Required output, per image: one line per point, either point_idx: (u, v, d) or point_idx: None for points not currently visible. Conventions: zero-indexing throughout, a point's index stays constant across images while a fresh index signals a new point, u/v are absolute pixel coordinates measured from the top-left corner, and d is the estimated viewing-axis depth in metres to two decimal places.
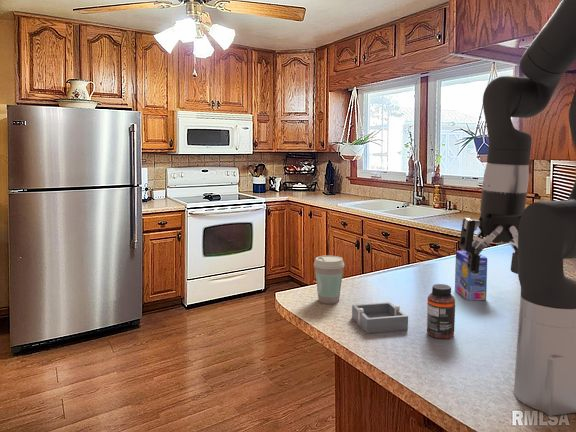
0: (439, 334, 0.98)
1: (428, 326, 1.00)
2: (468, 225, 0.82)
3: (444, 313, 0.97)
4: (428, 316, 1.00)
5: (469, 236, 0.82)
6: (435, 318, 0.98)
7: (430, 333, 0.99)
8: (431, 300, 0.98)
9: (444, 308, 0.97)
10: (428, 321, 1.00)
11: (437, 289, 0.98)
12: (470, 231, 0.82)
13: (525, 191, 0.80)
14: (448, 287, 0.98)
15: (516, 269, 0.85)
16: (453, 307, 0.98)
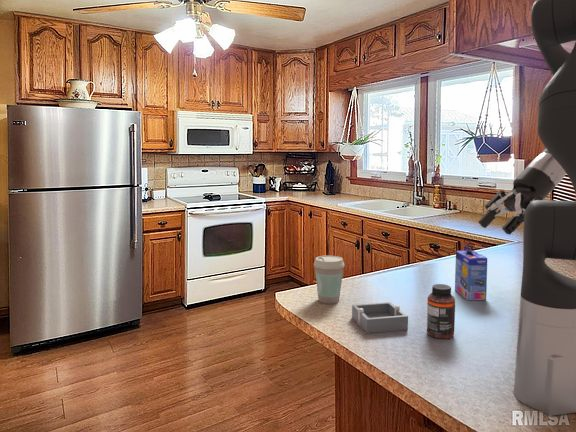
0: (439, 334, 0.98)
1: (428, 326, 1.00)
2: None
3: (444, 313, 0.97)
4: (428, 316, 1.00)
5: (493, 198, 1.08)
6: (435, 318, 0.98)
7: (430, 333, 0.99)
8: (431, 300, 0.98)
9: (444, 308, 0.97)
10: (428, 321, 1.00)
11: (437, 289, 0.98)
12: (495, 196, 1.08)
13: (539, 168, 1.00)
14: (448, 287, 0.98)
15: None
16: (453, 307, 0.98)
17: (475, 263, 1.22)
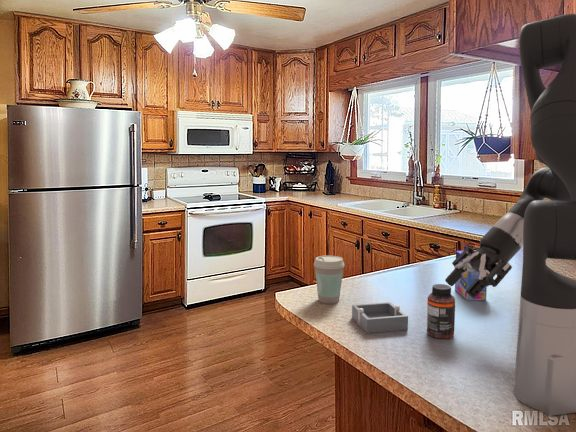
0: (439, 334, 0.98)
1: (428, 326, 1.00)
2: None
3: (444, 313, 0.97)
4: (428, 316, 1.00)
5: (460, 255, 1.07)
6: (435, 318, 0.98)
7: (430, 333, 0.99)
8: (431, 300, 0.98)
9: (444, 308, 0.97)
10: (428, 321, 1.00)
11: (437, 289, 0.98)
12: (463, 252, 1.07)
13: (504, 230, 0.98)
14: (448, 287, 0.98)
15: None
16: (453, 307, 0.98)
17: None
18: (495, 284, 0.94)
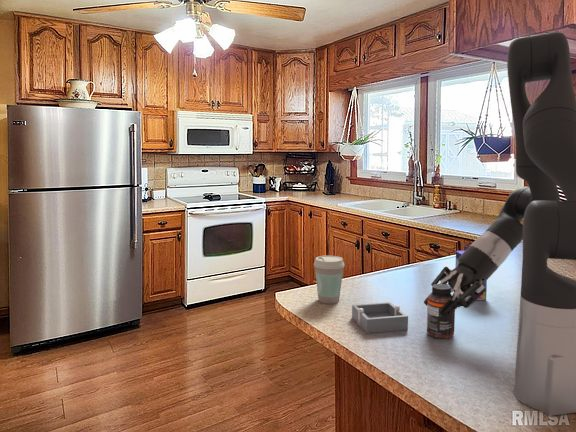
0: (439, 334, 0.98)
1: (428, 326, 1.00)
2: None
3: None
4: (428, 316, 1.00)
5: (438, 276, 1.06)
6: (435, 318, 0.98)
7: (430, 333, 0.99)
8: (431, 300, 0.98)
9: None
10: (428, 321, 1.00)
11: (437, 289, 0.98)
12: (440, 273, 1.06)
13: (481, 249, 0.98)
14: (448, 287, 0.98)
15: None
16: None
17: None
18: (466, 306, 0.94)
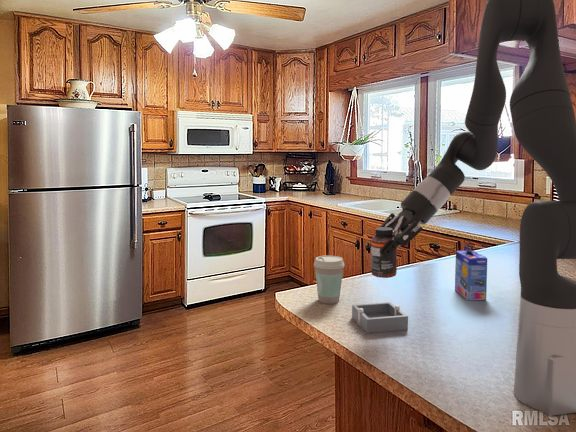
0: (381, 273, 1.03)
1: (372, 267, 1.05)
2: None
3: None
4: (372, 257, 1.05)
5: (384, 222, 1.11)
6: (377, 258, 1.03)
7: (373, 273, 1.05)
8: (374, 241, 1.04)
9: None
10: (372, 262, 1.05)
11: (379, 230, 1.03)
12: (386, 219, 1.11)
13: (421, 192, 1.03)
14: (390, 229, 1.04)
15: None
16: None
17: (475, 263, 1.22)
18: (404, 244, 0.99)
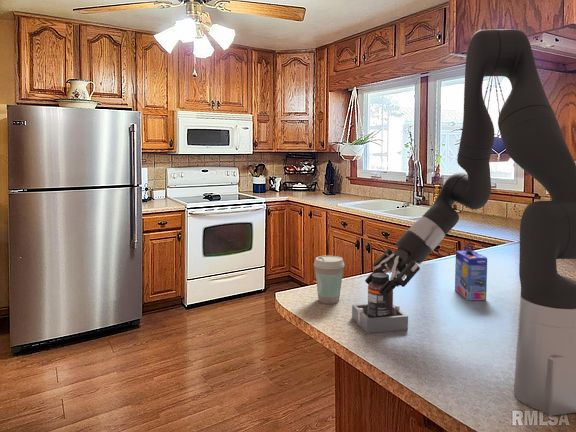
0: None
1: (368, 312, 1.07)
2: None
3: (381, 300, 1.04)
4: (368, 303, 1.07)
5: (381, 257, 1.12)
6: (374, 304, 1.05)
7: None
8: (370, 287, 1.05)
9: (381, 295, 1.04)
10: (368, 307, 1.07)
11: (375, 277, 1.05)
12: (383, 254, 1.12)
13: (416, 233, 1.04)
14: (386, 275, 1.05)
15: None
16: (390, 294, 1.04)
17: (475, 263, 1.22)
18: (403, 284, 1.00)
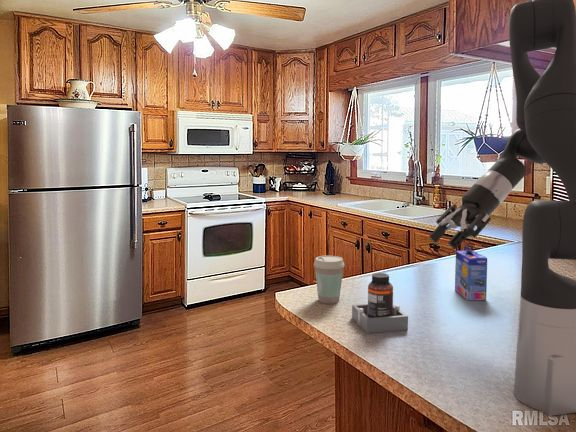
0: None
1: (368, 312, 1.07)
2: None
3: (381, 300, 1.04)
4: (368, 303, 1.07)
5: (444, 214, 1.12)
6: (374, 304, 1.05)
7: None
8: (370, 287, 1.05)
9: (381, 295, 1.04)
10: (368, 307, 1.07)
11: (375, 277, 1.05)
12: (446, 211, 1.12)
13: (484, 185, 1.04)
14: (386, 275, 1.05)
15: None
16: (390, 294, 1.04)
17: (475, 263, 1.22)
18: (475, 234, 0.99)
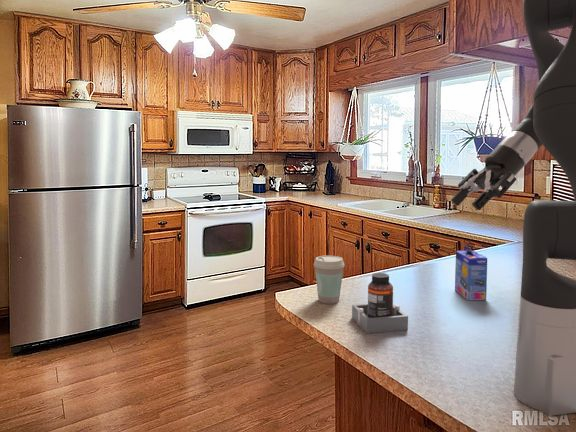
0: None
1: (368, 312, 1.07)
2: None
3: (381, 300, 1.04)
4: (368, 303, 1.07)
5: (466, 177, 1.10)
6: (374, 304, 1.05)
7: None
8: (370, 287, 1.05)
9: (381, 295, 1.04)
10: (368, 307, 1.07)
11: (375, 277, 1.05)
12: (468, 175, 1.10)
13: (509, 146, 1.01)
14: (386, 275, 1.05)
15: None
16: (390, 294, 1.04)
17: (475, 263, 1.22)
18: (500, 195, 0.97)
